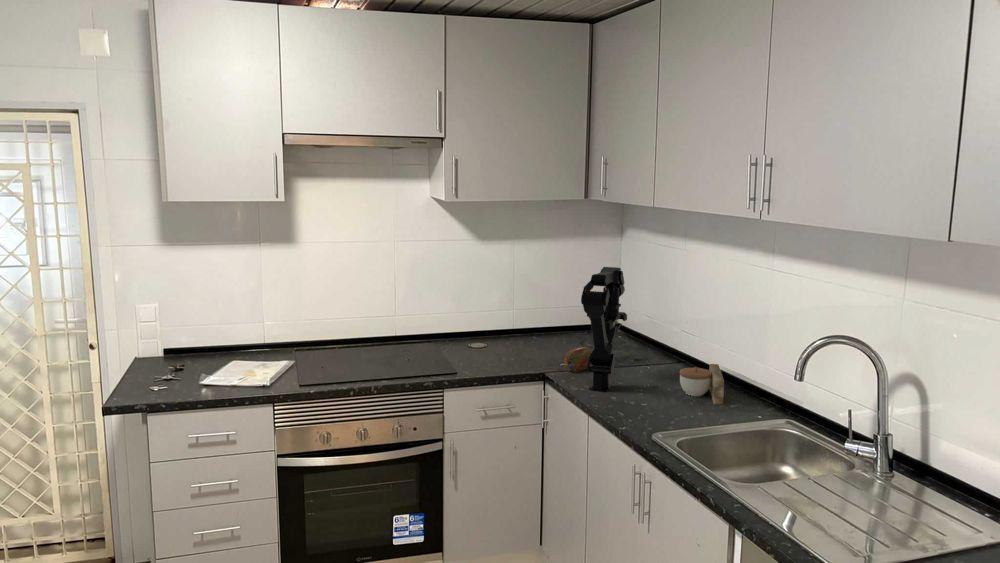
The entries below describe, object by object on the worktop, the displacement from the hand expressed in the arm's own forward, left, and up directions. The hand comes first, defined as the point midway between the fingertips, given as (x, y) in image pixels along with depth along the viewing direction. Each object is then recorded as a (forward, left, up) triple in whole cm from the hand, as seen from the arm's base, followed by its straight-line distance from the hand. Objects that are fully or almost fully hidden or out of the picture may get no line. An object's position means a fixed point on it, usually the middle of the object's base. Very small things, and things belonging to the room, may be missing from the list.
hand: (610, 343), depth 272 cm
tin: (+5, +14, -13) cm, 20 cm away
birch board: (-2, -39, -13) cm, 41 cm away
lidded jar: (-4, -33, -13) cm, 35 cm away
